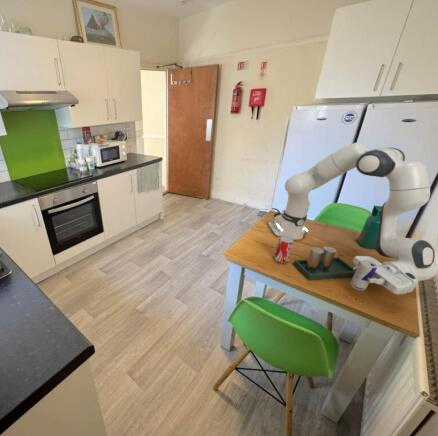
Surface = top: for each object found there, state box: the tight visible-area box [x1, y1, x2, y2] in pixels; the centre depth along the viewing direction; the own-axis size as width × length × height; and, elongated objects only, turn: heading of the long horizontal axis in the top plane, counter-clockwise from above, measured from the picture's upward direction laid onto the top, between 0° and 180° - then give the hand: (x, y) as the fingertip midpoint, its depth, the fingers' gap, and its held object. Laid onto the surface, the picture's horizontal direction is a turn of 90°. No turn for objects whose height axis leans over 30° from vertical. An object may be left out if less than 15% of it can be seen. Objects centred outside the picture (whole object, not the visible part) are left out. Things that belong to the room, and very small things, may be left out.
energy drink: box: [349, 260, 377, 291], centre depth 99 cm, size 5×5×12 cm
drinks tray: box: [293, 256, 356, 281], centre depth 117 cm, size 12×24×2 cm, turn 94°
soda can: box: [273, 236, 295, 264], centre depth 122 cm, size 7×7×13 cm
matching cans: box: [305, 245, 337, 273], centre depth 114 cm, size 5×11×12 cm, turn 94°
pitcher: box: [357, 205, 383, 250], centre depth 130 cm, size 10×8×22 cm
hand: (361, 274), depth 99 cm, fingers closed on energy drink, 5 cm apart
